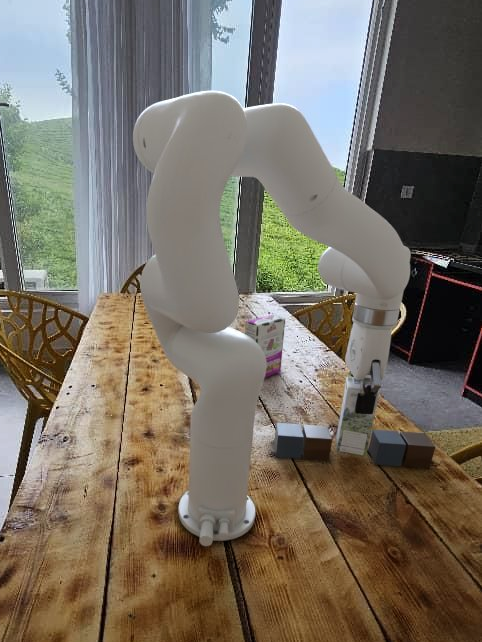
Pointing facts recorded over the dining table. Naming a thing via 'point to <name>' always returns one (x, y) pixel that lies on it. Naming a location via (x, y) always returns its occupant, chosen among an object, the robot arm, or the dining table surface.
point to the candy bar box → (268, 339)
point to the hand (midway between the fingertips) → (358, 403)
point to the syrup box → (354, 422)
